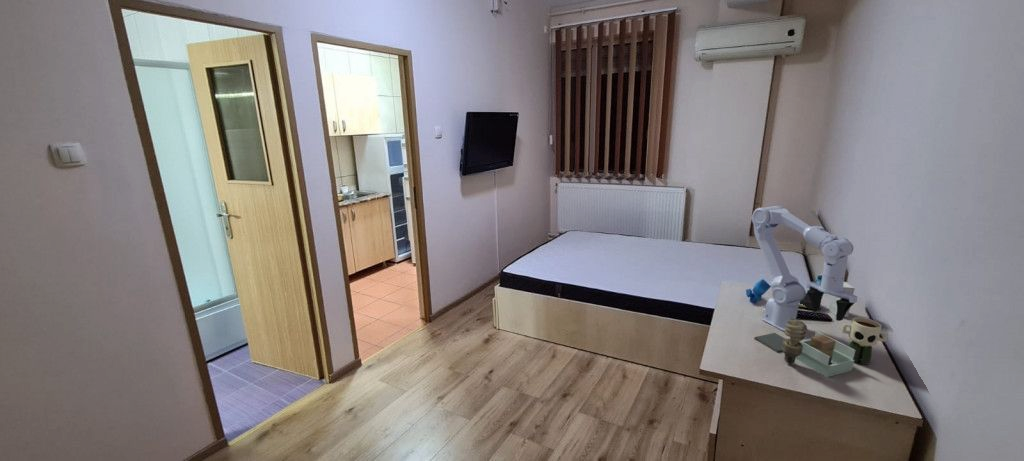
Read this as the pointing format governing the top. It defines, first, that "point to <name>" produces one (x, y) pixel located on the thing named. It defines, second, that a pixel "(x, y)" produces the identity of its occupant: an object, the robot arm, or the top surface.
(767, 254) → the robot arm
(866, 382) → the top surface
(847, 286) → the skincare box
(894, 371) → the top surface
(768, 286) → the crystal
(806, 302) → the smart speaker
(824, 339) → the walnut box
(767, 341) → the mat
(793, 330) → the light bulb
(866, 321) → the character mug
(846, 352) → the pale green open tray
